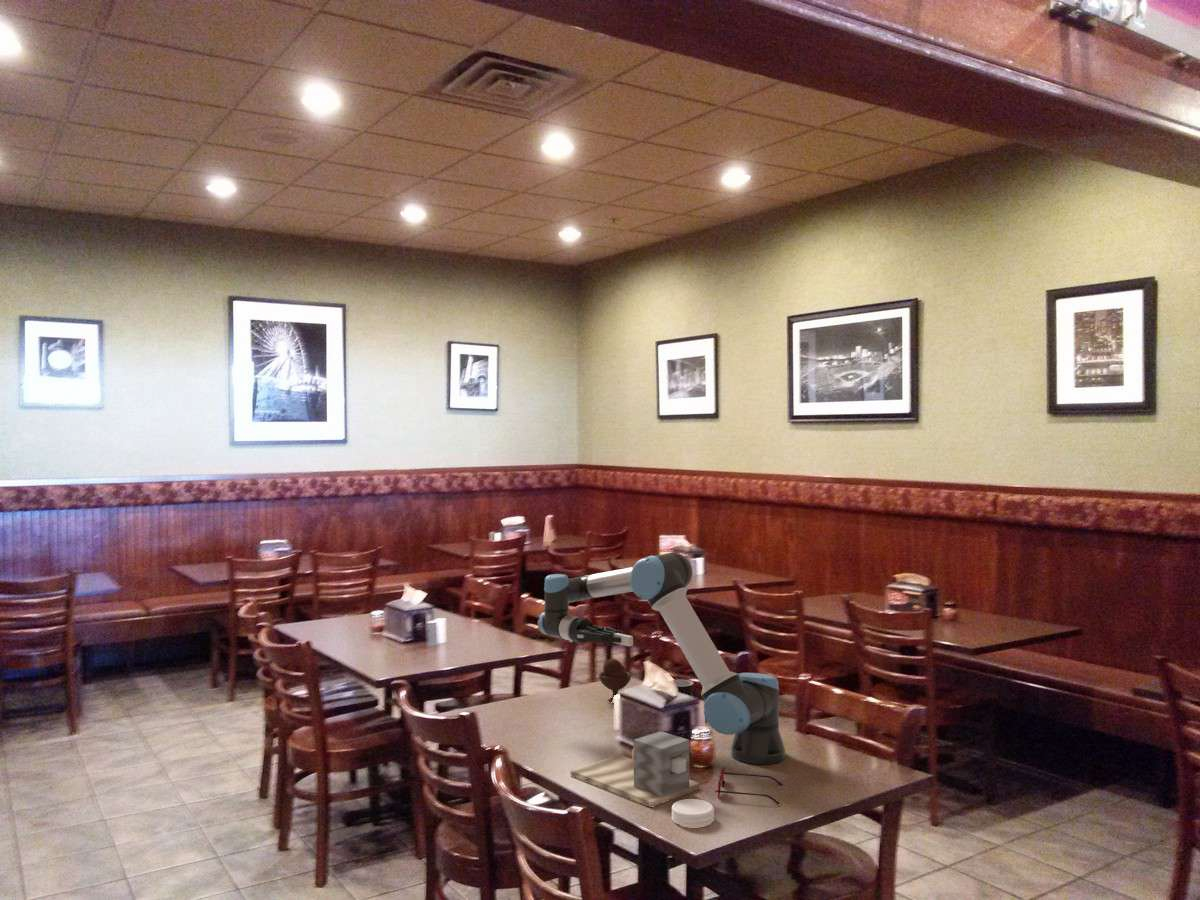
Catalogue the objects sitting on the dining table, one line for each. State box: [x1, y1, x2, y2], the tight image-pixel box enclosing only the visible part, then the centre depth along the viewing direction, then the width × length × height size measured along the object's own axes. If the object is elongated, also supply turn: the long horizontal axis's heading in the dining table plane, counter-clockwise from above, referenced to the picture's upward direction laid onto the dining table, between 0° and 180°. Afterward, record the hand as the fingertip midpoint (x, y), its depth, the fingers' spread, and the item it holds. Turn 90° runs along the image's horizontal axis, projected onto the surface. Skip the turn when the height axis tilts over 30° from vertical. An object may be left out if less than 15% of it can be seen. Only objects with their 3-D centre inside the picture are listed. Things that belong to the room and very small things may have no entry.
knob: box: [631, 747, 686, 774], centre depth 234 cm, size 14×6×6 cm, turn 43°
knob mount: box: [570, 730, 701, 808], centre depth 241 cm, size 30×18×14 cm, turn 43°
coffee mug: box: [673, 679, 694, 697], centre depth 304 cm, size 12×9×10 cm
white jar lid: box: [671, 798, 715, 827], centre depth 217 cm, size 10×10×4 cm
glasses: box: [714, 766, 784, 805], centre depth 234 cm, size 14×16×5 cm
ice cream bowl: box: [598, 658, 632, 704], centre depth 316 cm, size 11×11×15 cm
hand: (631, 641), depth 264 cm, fingers closed
